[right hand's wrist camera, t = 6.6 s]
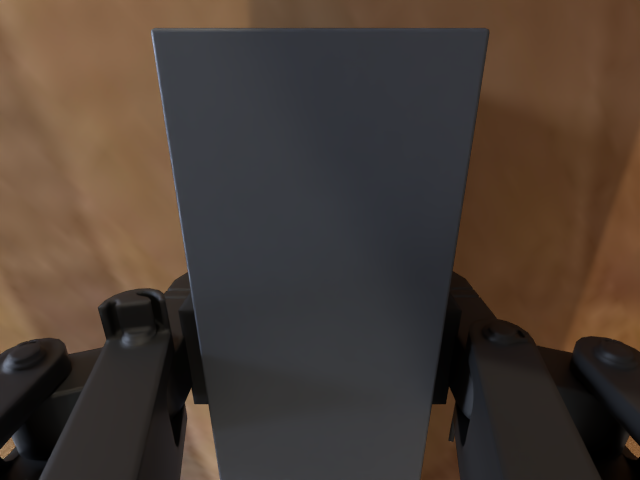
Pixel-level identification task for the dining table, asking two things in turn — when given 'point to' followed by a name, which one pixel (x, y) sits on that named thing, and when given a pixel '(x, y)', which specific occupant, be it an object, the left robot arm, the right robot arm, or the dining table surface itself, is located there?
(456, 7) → the dining table surface
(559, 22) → the dining table surface
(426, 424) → the bar
